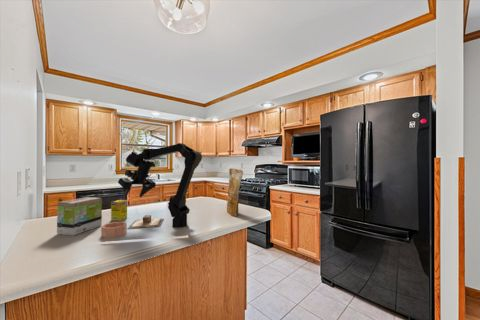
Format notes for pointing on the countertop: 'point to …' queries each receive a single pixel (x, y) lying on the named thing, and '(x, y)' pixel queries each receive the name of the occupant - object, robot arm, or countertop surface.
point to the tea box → (79, 215)
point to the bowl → (113, 229)
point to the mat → (146, 227)
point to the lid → (146, 222)
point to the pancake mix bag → (233, 191)
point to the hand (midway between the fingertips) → (132, 197)
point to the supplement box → (119, 210)
